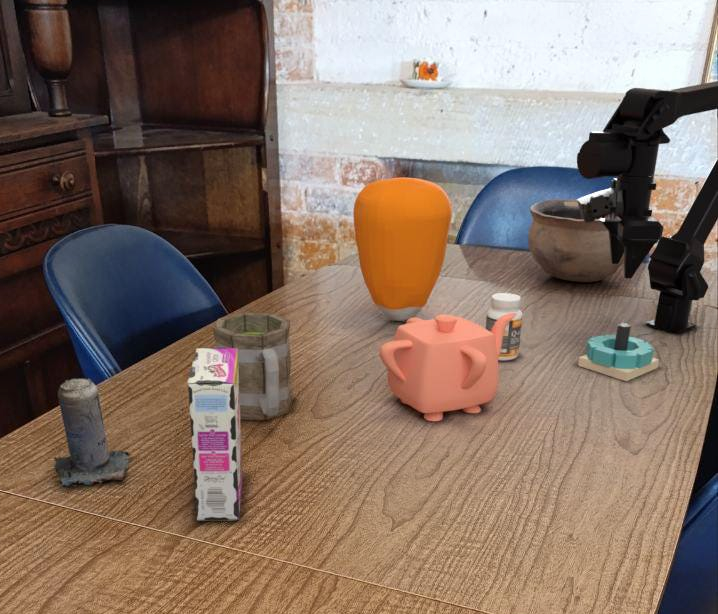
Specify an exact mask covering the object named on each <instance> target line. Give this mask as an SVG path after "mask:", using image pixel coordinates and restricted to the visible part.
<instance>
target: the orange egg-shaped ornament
mask: <svg viewBox="0 0 718 614" xmlns="http://www.w3.org/2000/svg"><path fill="white" fill-rule="evenodd" d="M352 214H353V215H352V216H353V226H354V236H355V243H356V248H357V253H358V261H359V267H360V271H361V275H362V278H363V280H364V284H365V286H366V287H367V290H368V292H369V294H370V297H371V300H372V302H373V303H374V305H375V306H376V307H377V308H378V309H379V310H380V311H381V312H382V314H383V315H384V316H385V317H386V319H389V320H391V321H394V322H405V321H406V322H407V320H408V319H409V318H414V317H415V318H417V316H418V315H419V314H420V312H421V310H422V309H423V308H424V306H425V305H426V304H427V303H428V300H429V298H430V296H431V294H432V292H433V290H434V287H436V286H435V285H436V283H437V281H438V279H439V277H440V273H441V271H442V268H443V264H444V261H445V257H446V251H447V245H448V240H449V239H448V238H449V234H450V233H449V232H450V228H451V223H452V217H453V207H452V203H451V200H450V198H449V196H448V194H447V192H445V190H444V189H443V188H442V186H440V185H438V184H436V183H435V182H432V181H430V180H425V179H421V178H415V177H393V178H392V177H391V178H387V179H380V180H376V181H372V182H369V183H368V184H367V185H365V186H364V187H363V188H362V189H361V190H360V192H359V193H358V194H357V196H356V198H355V201H354V205H353V213H352Z"/></svg>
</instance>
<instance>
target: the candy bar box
mask: <svg viewBox="0 0 718 614" xmlns="http://www.w3.org/2000/svg"><path fill="white" fill-rule="evenodd" d="M191 363H192V364H191V368H190V372H189V376H188V379H187V390H188V391H187V392H188V406H189V407H188V408H189V420H190V435H191V436H190V437H191V450H192V465H193V467H192V468H193V481H194V493H195V495H194V496H195V510H196V521H198V522H216V521H217V522H231V521H239V520H240V514H241V501H242V489H243V488H242V487H243V451H242V426H241V425H242V424H241V423H242V422H241V419H240V396H239V372H238V349H237V348H216V347H202V348H201V347H200V348H199V347H198V348H196V349H195V352H194V356H193V360H192V362H191Z"/></svg>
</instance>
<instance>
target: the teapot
mask: <svg viewBox="0 0 718 614" xmlns="http://www.w3.org/2000/svg"><path fill="white" fill-rule="evenodd" d="M516 315H517V313H510V314H506V315H503V316H501V317H500V318H499V319H498V320H497V321H496V322H495V324H494V326H493V328H492V330H491V332H490V331H488V330H486V327H485V328H484V327H483V326H481V325H479V324H477V323H475V322H473V321H471V320H468V319H466V318H464V317H461V316H455V315H453V314H446V313H445V314H439V315H436V316H434V318H433V319H426V320H424V319H421V318H419V317H414V318H409V319H408V320H406V323H405V324H401V325H398V327H397V328H396V331H395V334H394V337H393V340H391V341H389V342H386V343H383V344H382V345H381V346H380V348H379V350H378V351H379V352H378V353H379V357H380V360H381V362H382V363H383V365H384V366H385V368H387V371H386V372H387V374H386V379H387V383H388V387H389V391H390V392H391V393H392V394H393V395H395V396H396V397H397V398H399V399H400V402H401V403H402V404H404V405H408V406H410V407H411V408H413V409H415V410H416V411H418V412H420V413H422V414H424V415H423V419H424V420H426V421H428V422H429V421H430V422H439V421H442V420H443V418H444V413H445V412H451V411H457V410H458V411H459V410H462V411H463V412H465V413H468V414H478V413H481V411H482V409H481V407H480V406H479V405H482V404H485V403H489V402H491V401H493V400H494V398H495V395H496V394H497V391H498V387H499V374H500V373H499V360H498V358H499V355H500V352H501V346H502V340H503V335H504V331H505V328H506V326H507V325H508V323H509V322H510V321H511V320H512V319H513V318H514V317H515V316H516Z"/></svg>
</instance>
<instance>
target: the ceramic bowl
mask: <svg viewBox="0 0 718 614" xmlns="http://www.w3.org/2000/svg"><path fill="white" fill-rule="evenodd" d="M578 199H579V198H552V199H547V200H542V201H538V202H536V203H533V204H532V205H531V206H530V208H529V211H530V214H531V217H532V218H533V219H532V221H531V224H530V227H529V228H528V229H529V230H528V236H527V239H528V240H527V241H528V248H529V251H530V253H531V255H532V257H533V259H534V261H535V262H536V263H537V264H538V265H539V266H540V267H541V269H542V270H543V271H544V272H545V273H547V274H548V275H549V276H551V277H553V278H556V279H560V280H563V281H567V282H574V283H595V282H600V281H602V280H604V279H607V278H608V277H610V276H611V275H613V274H614V273H617V271H618V270H619V268H620V267H622V265H624V254H623V256H622V258H621V260H620V262H619V263H618V264H613V263H612V260H611V250H610V241H609V233H608V229H607V228H606V227H605V226H604V225H603V224H602V222H601V221H600V219H605V218H597V219H595V221H592V222H584V220H583V219H582V218H581V214H580V210H579V206H578V202H577V200H578Z"/></svg>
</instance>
